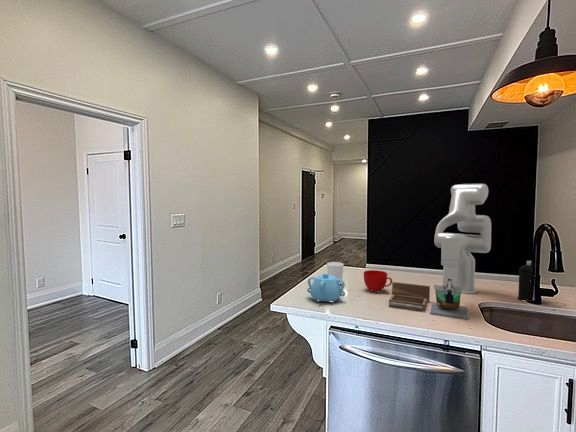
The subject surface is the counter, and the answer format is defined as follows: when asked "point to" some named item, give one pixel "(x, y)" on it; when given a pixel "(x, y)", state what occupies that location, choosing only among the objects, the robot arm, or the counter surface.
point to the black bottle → (524, 281)
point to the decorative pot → (326, 288)
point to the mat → (450, 311)
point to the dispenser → (409, 296)
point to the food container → (441, 297)
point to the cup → (335, 269)
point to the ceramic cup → (376, 280)
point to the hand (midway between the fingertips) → (449, 300)
